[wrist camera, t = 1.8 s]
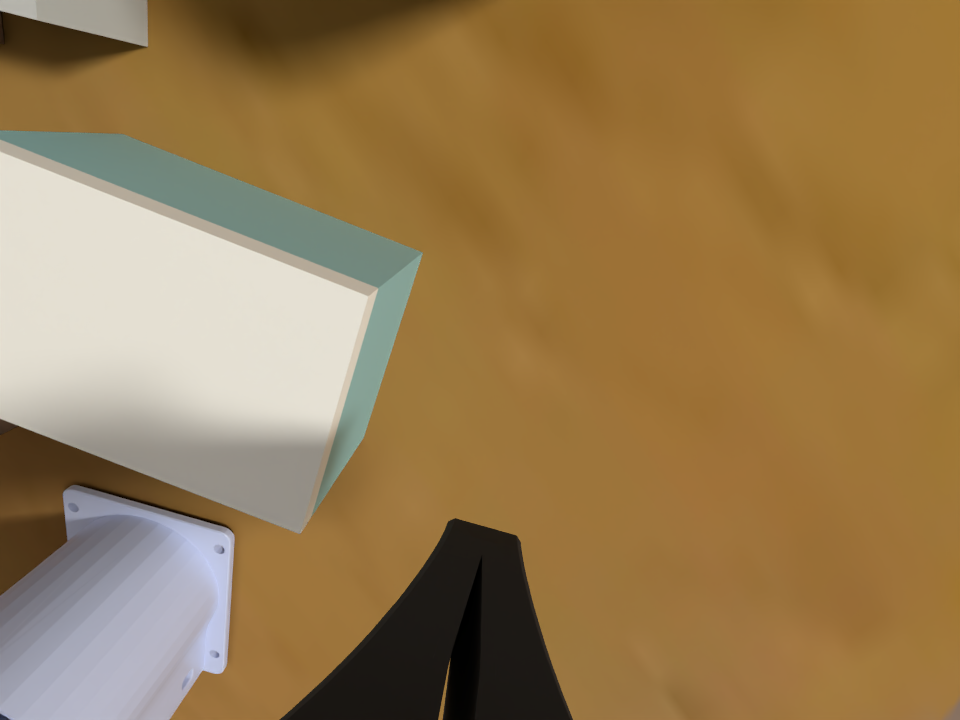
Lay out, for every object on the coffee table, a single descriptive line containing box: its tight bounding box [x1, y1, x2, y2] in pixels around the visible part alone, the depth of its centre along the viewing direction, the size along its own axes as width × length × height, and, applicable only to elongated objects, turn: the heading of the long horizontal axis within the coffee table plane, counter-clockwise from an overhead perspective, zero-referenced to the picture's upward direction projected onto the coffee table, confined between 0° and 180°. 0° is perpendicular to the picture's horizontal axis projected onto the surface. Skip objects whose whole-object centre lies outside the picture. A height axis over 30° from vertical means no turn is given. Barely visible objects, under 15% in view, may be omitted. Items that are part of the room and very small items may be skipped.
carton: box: [0, 130, 423, 534], centre depth 17 cm, size 8×11×6 cm
